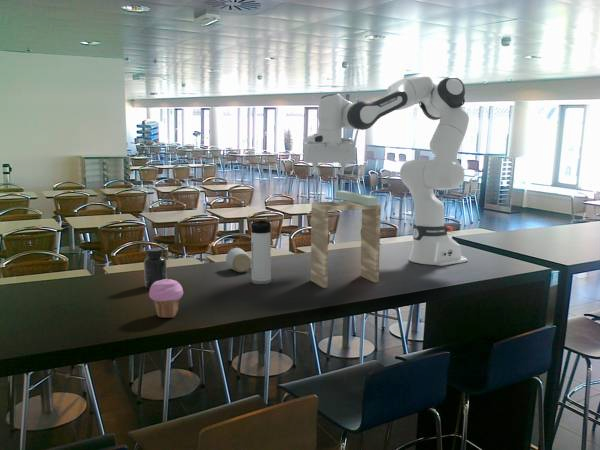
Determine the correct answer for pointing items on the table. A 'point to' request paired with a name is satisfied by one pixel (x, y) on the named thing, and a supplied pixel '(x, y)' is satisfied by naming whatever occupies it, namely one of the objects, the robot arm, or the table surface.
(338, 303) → the table surface
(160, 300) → the cupcake
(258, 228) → the travel mug
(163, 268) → the supplement bottle
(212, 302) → the table surface
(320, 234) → the frame
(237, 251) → the ceramic mug
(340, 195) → the bar
